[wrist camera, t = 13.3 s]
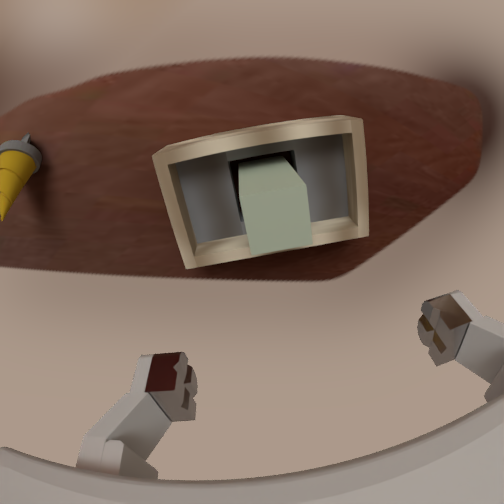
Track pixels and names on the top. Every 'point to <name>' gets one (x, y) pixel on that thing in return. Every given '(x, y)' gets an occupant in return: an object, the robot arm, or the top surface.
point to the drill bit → (16, 169)
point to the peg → (274, 205)
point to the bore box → (224, 193)
